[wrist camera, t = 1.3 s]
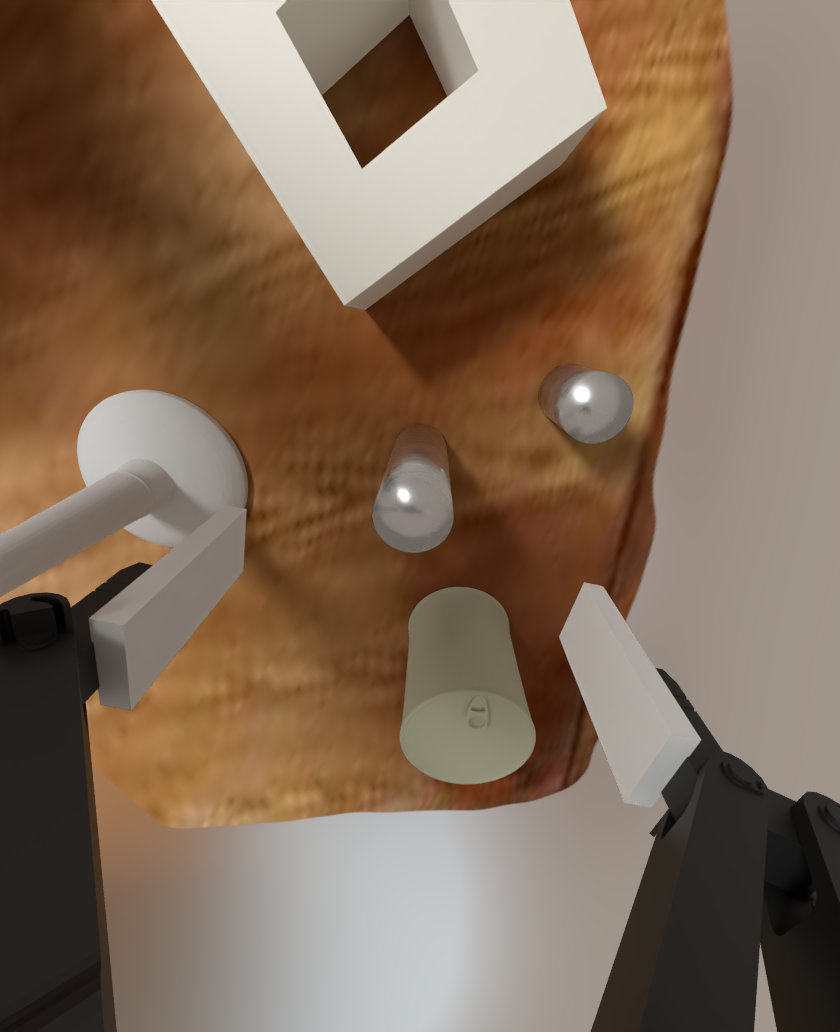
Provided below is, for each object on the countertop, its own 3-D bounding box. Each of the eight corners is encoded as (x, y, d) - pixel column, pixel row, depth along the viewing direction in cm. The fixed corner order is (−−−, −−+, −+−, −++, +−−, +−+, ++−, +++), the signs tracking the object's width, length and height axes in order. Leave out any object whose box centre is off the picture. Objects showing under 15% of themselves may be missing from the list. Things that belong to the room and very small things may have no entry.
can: (519, 593, 37) (555, 707, 26) (496, 671, 40) (519, 799, 29) (415, 579, 36) (407, 688, 25) (402, 658, 40) (390, 783, 29)
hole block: (216, 69, 23) (132, -29, 16) (434, -154, 19) (435, -388, 13) (364, 310, 28) (344, 305, 21) (561, 165, 24) (607, 107, 18)
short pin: (528, 384, 29) (550, 398, 24) (582, 351, 28) (617, 358, 23) (553, 432, 31) (578, 455, 25) (604, 402, 30) (643, 420, 24)
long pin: (383, 442, 31) (356, 504, 20) (428, 413, 30) (425, 463, 19) (412, 484, 33) (401, 565, 22) (456, 458, 32) (468, 529, 21)
